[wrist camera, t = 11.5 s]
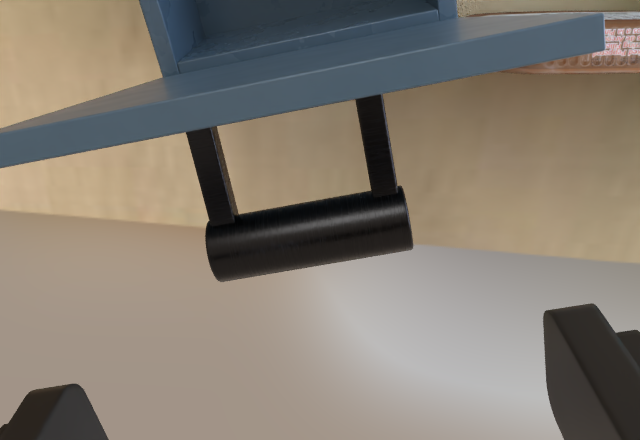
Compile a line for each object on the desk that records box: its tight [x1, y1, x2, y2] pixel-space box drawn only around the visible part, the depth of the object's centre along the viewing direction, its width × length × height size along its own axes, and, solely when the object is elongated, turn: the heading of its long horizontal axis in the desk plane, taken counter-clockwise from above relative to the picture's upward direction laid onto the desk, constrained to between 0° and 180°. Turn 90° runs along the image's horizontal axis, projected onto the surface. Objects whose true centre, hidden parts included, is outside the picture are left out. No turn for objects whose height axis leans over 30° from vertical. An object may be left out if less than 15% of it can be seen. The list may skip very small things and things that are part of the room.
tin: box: [466, 11, 640, 74], centre depth 34 cm, size 15×3×8 cm, turn 91°
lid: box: [0, 13, 606, 282], centre depth 22 cm, size 17×15×5 cm
